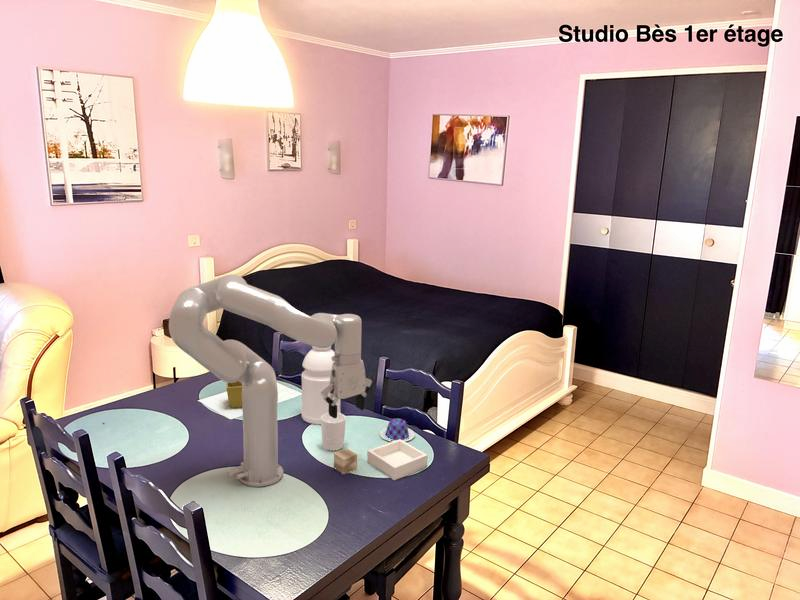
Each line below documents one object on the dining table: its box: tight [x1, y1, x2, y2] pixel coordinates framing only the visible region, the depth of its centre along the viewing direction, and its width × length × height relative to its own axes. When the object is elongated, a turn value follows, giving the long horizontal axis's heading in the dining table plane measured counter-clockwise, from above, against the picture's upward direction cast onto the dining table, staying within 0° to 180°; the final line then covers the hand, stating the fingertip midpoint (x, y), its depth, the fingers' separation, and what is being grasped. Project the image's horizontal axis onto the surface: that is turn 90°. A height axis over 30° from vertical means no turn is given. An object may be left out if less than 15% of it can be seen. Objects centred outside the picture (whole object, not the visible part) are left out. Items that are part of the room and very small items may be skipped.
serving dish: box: [366, 439, 429, 481], centre depth 181 cm, size 13×13×4 cm
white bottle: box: [301, 346, 342, 425], centre depth 209 cm, size 14×14×28 cm
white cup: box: [320, 413, 347, 452], centre depth 190 cm, size 8×8×10 cm
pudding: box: [379, 417, 416, 442], centre depth 200 cm, size 12×12×5 cm
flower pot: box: [225, 381, 242, 409], centre depth 219 cm, size 9×9×9 cm
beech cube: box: [333, 447, 358, 475], centre depth 177 cm, size 5×5×5 cm
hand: (346, 412), depth 174 cm, fingers open, 9 cm apart
